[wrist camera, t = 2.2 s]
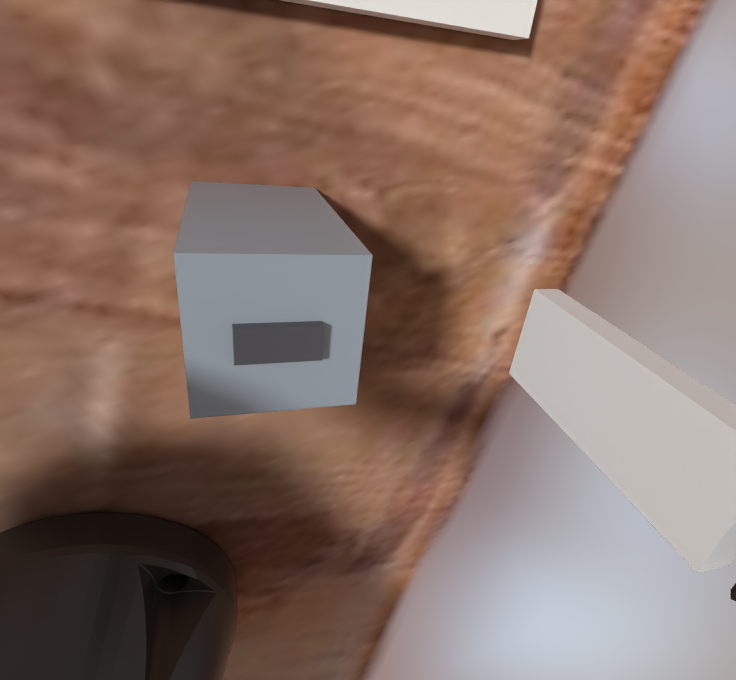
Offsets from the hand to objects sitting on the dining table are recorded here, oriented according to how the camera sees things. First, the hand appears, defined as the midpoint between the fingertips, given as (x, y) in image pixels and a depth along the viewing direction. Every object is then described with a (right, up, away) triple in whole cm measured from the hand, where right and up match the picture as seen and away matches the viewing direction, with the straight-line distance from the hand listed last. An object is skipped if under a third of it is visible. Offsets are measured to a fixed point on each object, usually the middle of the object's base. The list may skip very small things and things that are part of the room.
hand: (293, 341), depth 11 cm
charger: (-3, +4, +7) cm, 8 cm away
